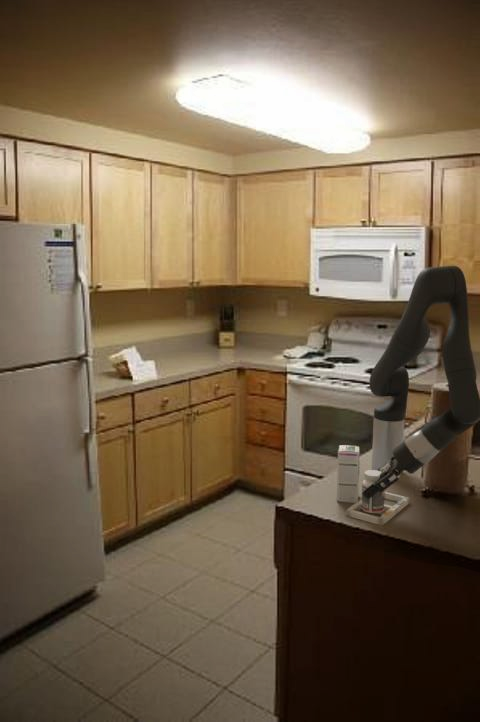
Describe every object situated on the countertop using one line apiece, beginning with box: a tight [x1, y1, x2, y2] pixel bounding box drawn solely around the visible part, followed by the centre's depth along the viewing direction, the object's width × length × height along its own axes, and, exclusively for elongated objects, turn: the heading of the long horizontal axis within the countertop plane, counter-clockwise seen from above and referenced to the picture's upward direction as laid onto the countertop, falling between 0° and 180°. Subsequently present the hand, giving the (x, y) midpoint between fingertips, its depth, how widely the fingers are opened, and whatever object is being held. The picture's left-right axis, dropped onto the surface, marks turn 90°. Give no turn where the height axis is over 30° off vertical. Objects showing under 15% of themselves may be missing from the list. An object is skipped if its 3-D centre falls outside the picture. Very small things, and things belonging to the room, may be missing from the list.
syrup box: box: [336, 444, 360, 504], centre depth 172 cm, size 6×6×14 cm
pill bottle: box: [361, 469, 386, 514], centre depth 162 cm, size 6×6×10 cm
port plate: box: [345, 491, 410, 526], centre depth 166 cm, size 18×10×2 cm, turn 144°
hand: (366, 491), depth 163 cm, fingers closed on pill bottle, 5 cm apart
